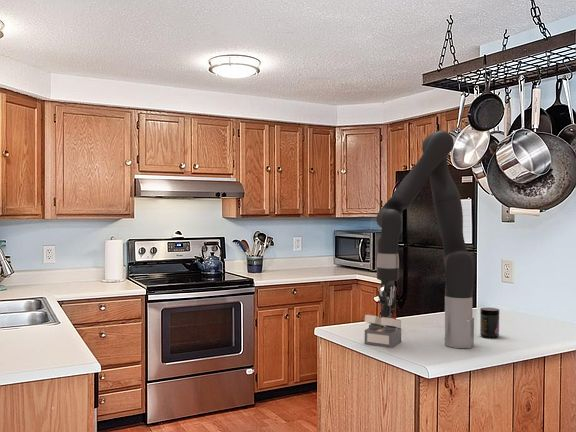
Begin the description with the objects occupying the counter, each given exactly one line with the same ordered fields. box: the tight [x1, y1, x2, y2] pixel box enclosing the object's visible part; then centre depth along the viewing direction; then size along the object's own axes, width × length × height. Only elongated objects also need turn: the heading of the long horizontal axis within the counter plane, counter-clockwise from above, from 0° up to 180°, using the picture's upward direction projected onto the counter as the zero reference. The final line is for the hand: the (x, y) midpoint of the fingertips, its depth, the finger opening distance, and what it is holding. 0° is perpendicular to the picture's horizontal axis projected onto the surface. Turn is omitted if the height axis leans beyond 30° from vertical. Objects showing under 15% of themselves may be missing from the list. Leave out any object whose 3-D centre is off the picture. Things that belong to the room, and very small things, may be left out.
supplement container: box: [479, 307, 500, 340], centre depth 200 cm, size 7×7×10 cm
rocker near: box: [380, 317, 402, 328], centre depth 190 cm, size 4×10×3 cm, turn 149°
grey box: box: [364, 323, 402, 349], centre depth 191 cm, size 10×10×6 cm
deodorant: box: [380, 293, 397, 327], centre depth 210 cm, size 6×6×15 cm
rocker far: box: [364, 314, 385, 326], centre depth 193 cm, size 4×10×3 cm, turn 149°
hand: (386, 315), depth 187 cm, fingers closed
